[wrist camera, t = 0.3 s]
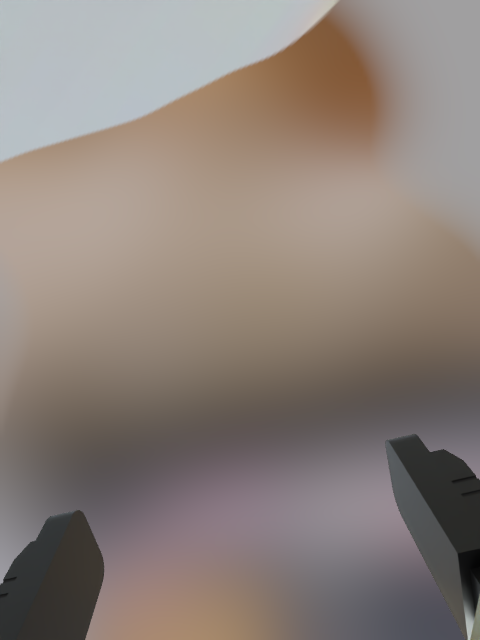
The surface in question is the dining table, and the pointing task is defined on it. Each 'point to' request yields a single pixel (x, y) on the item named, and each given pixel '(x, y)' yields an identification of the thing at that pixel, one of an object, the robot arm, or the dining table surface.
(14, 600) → the robot arm
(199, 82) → the dining table surface
